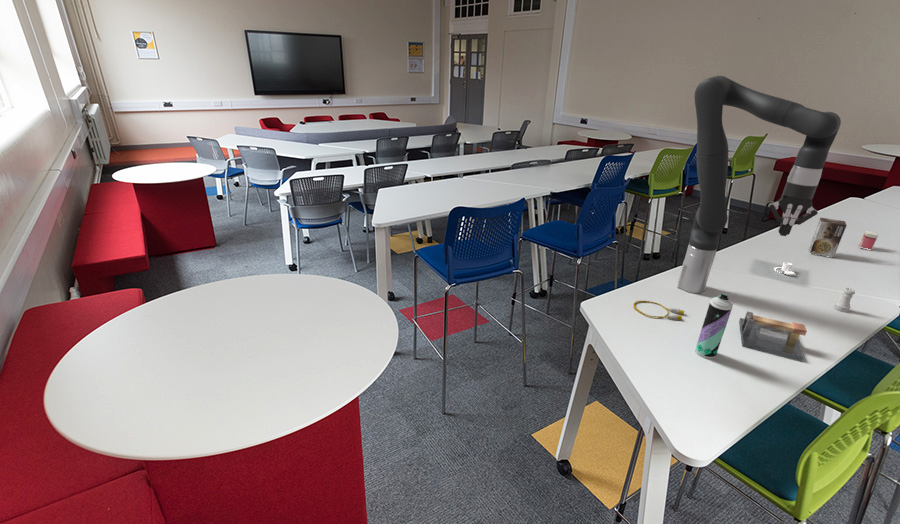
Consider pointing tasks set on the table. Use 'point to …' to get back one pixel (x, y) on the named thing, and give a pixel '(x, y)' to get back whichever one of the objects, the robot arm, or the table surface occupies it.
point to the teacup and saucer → (786, 268)
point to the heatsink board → (770, 345)
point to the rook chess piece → (845, 300)
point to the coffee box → (827, 237)
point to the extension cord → (672, 317)
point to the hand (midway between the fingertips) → (782, 235)
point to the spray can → (714, 326)
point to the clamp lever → (778, 324)
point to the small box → (868, 239)
